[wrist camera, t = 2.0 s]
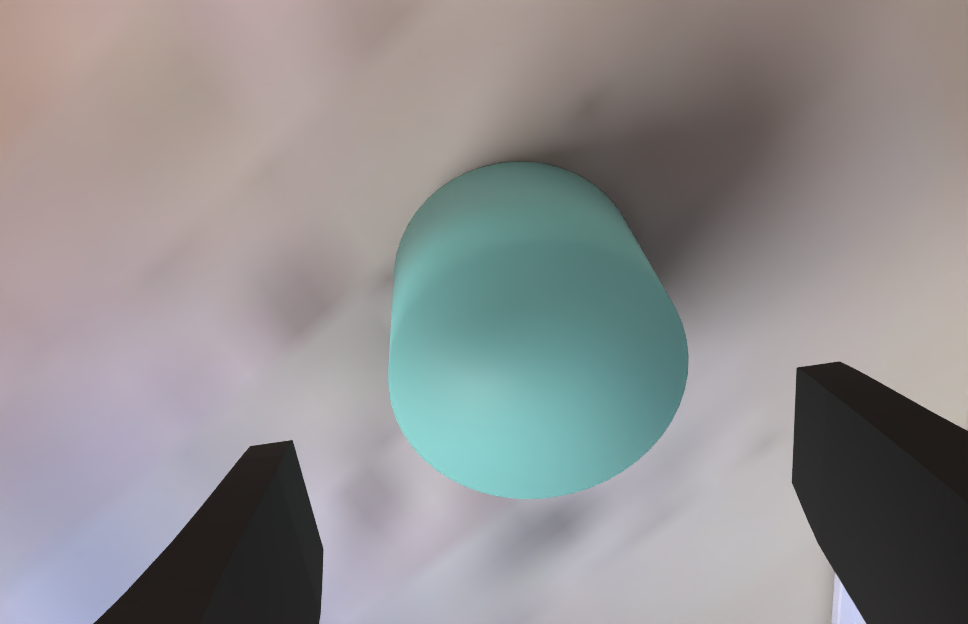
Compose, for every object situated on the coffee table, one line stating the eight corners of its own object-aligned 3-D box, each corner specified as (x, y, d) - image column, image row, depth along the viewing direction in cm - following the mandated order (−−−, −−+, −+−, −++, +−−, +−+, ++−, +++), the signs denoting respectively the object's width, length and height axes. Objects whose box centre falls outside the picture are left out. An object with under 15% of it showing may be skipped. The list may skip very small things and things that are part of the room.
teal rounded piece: (627, 142, 17) (683, 216, 14) (642, 363, 19) (692, 475, 16) (372, 181, 17) (359, 265, 14) (416, 397, 19) (416, 518, 16)
